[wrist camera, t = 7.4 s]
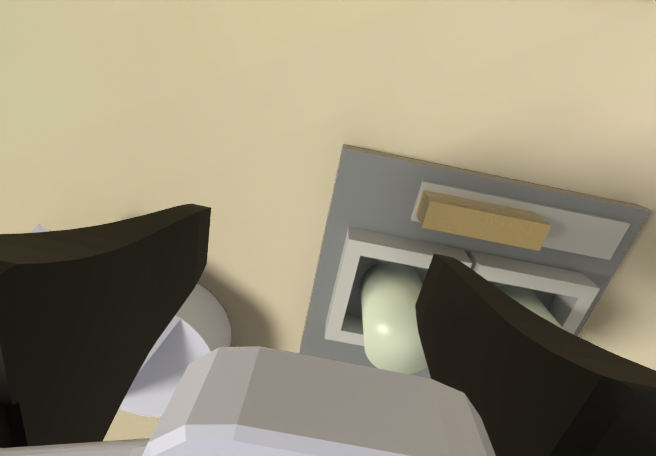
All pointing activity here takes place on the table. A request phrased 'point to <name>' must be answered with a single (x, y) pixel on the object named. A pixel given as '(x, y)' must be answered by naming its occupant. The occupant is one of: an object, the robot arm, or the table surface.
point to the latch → (481, 220)
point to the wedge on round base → (176, 351)
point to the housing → (420, 245)
